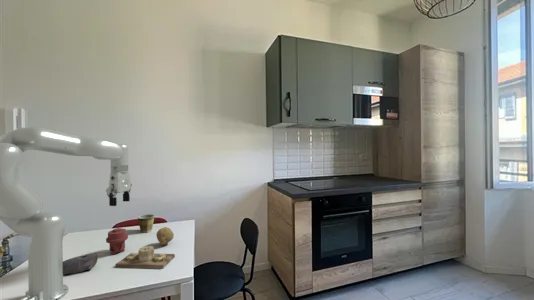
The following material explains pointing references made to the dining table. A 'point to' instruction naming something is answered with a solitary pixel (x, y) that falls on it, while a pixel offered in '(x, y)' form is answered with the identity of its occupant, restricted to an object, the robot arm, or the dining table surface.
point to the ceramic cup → (146, 223)
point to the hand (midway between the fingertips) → (119, 203)
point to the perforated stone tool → (79, 263)
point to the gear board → (157, 262)
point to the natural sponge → (164, 235)
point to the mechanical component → (117, 240)
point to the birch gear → (146, 254)
